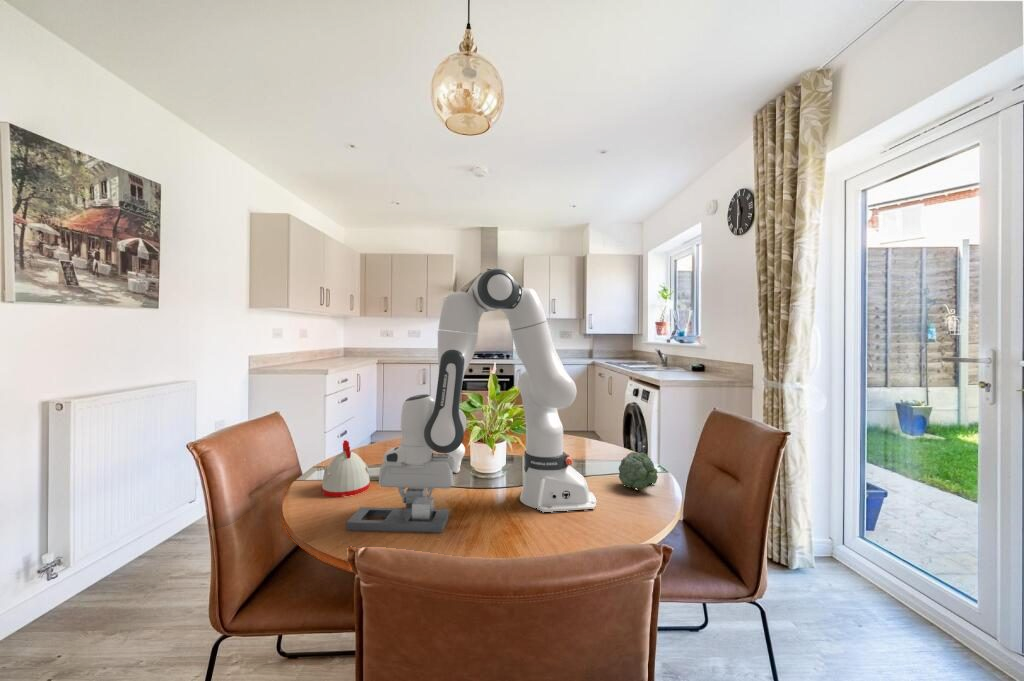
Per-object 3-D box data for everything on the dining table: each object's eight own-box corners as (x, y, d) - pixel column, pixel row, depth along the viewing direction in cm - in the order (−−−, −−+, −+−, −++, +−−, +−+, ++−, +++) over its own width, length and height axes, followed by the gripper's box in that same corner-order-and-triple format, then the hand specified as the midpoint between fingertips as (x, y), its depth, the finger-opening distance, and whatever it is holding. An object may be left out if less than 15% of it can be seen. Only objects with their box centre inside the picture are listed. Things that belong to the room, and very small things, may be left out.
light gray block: (433, 520, 105) (433, 497, 105) (429, 528, 101) (429, 504, 101) (416, 520, 106) (416, 497, 106) (411, 528, 101) (411, 504, 101)
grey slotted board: (449, 516, 108) (449, 509, 108) (442, 532, 99) (442, 524, 99) (360, 514, 108) (360, 507, 108) (346, 530, 99) (346, 522, 99)
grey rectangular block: (426, 506, 114) (426, 485, 114) (422, 513, 110) (422, 491, 110) (410, 505, 114) (410, 484, 114) (405, 512, 110) (406, 490, 110)
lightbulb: (457, 477, 138) (457, 445, 138) (443, 473, 142) (444, 442, 142) (468, 472, 144) (468, 441, 144) (455, 469, 147) (455, 439, 147)
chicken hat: (363, 478, 136) (364, 434, 136) (374, 491, 125) (375, 443, 125) (318, 486, 129) (319, 439, 128) (325, 501, 117) (326, 449, 117)
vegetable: (676, 484, 128) (650, 471, 120) (645, 505, 132) (618, 494, 125) (658, 453, 138) (632, 439, 130) (630, 474, 142) (604, 462, 134)
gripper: (455, 450, 115) (455, 499, 115) (385, 449, 115) (384, 497, 115) (451, 457, 108) (451, 508, 108) (377, 455, 109) (376, 506, 109)
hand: (416, 502), depth 112 cm, fingers closed on grey rectangular block, 4 cm apart
